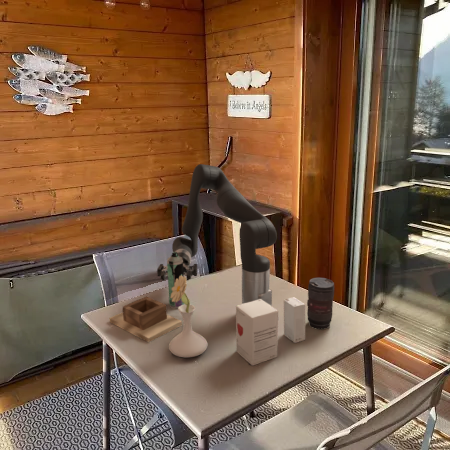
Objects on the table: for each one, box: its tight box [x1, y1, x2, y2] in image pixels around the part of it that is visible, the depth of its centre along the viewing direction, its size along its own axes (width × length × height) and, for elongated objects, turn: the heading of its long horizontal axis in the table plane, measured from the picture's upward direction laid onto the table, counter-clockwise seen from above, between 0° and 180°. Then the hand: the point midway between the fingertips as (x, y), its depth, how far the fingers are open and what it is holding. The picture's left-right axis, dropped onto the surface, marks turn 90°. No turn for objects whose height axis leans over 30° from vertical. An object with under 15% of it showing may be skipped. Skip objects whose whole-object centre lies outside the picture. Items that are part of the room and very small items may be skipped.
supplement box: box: [235, 299, 279, 366], centre depth 134 cm, size 9×9×15 cm
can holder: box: [109, 296, 183, 343], centre depth 154 cm, size 20×14×6 cm
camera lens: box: [306, 277, 335, 330], centre depth 150 cm, size 8×8×15 cm
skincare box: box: [283, 296, 306, 344], centre depth 144 cm, size 6×4×12 cm
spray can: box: [166, 251, 185, 310], centre depth 165 cm, size 6×6×20 cm
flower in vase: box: [168, 275, 208, 358], centre depth 134 cm, size 13×11×25 cm
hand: (175, 278), depth 163 cm, fingers open, 8 cm apart
